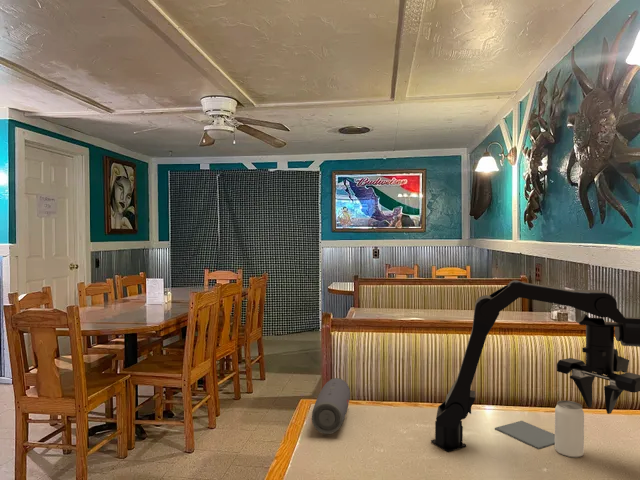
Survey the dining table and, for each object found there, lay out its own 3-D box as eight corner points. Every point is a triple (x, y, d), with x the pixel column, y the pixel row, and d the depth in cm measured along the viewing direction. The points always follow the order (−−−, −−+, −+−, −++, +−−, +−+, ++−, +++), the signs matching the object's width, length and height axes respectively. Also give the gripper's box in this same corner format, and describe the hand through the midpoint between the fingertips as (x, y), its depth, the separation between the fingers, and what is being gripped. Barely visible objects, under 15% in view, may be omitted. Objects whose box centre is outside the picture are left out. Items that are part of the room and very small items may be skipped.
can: (576, 446, 121) (577, 400, 121) (588, 458, 115) (589, 409, 115) (550, 445, 122) (550, 399, 122) (560, 457, 116) (561, 408, 115)
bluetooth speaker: (344, 440, 125) (344, 402, 125) (309, 437, 127) (309, 400, 126) (352, 408, 148) (352, 377, 147) (322, 407, 149) (322, 375, 149)
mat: (538, 449, 120) (538, 447, 120) (494, 429, 132) (494, 427, 132) (566, 440, 125) (566, 439, 125) (521, 421, 137) (521, 420, 137)
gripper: (662, 348, 107) (661, 417, 107) (583, 333, 124) (582, 393, 124) (633, 354, 102) (633, 426, 102) (555, 337, 118) (554, 400, 119)
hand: (599, 410), depth 112 cm, fingers open, 4 cm apart
